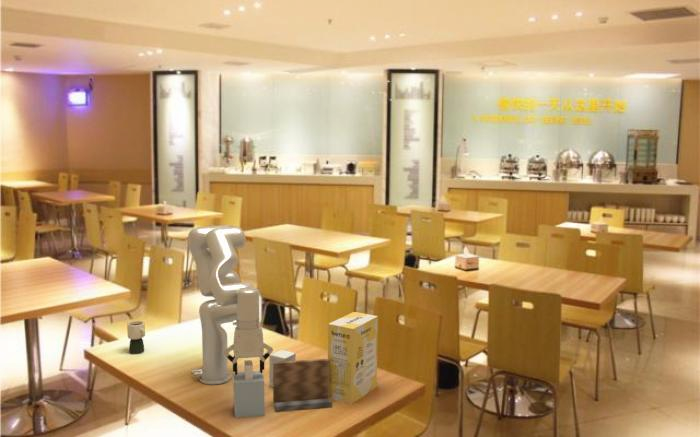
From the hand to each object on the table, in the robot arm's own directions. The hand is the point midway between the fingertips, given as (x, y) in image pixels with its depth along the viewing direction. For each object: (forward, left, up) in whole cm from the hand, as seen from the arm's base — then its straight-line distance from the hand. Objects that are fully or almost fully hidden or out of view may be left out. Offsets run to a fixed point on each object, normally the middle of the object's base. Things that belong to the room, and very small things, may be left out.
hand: (248, 372), depth 221 cm
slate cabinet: (0, 0, -14) cm, 14 cm away
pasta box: (+39, +9, -14) cm, 43 cm away
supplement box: (+14, +20, -14) cm, 28 cm away
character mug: (-44, +67, -14) cm, 81 cm away
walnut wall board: (+19, +2, -14) cm, 24 cm away
